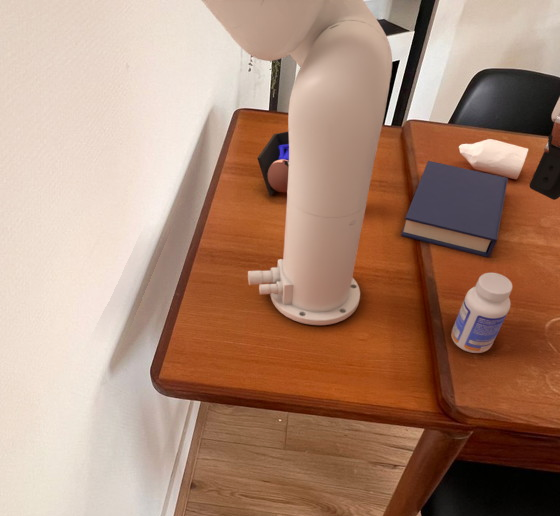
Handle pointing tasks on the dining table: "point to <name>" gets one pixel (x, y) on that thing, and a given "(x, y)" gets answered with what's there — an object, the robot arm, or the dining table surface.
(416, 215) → the book
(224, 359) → the dining table surface
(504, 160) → the roll
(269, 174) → the character figurine
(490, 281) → the pill bottle
